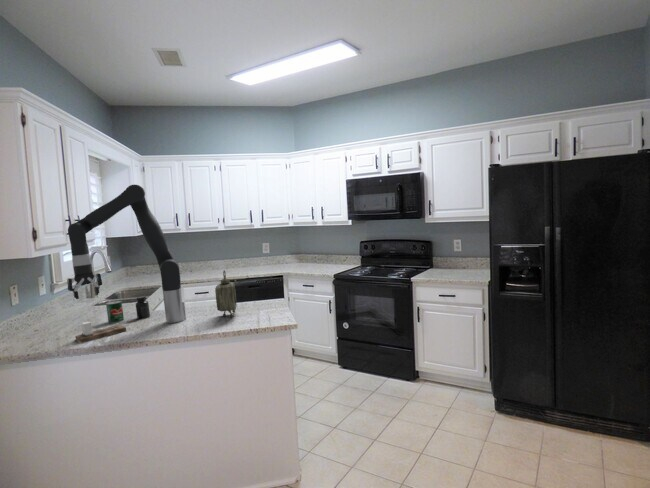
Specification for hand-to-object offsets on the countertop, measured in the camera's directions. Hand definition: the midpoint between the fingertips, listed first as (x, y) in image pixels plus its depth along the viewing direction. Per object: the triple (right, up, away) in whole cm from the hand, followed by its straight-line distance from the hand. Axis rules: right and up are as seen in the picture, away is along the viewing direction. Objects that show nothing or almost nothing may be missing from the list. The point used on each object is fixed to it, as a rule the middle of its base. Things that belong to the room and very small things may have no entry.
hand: (87, 296), depth 188 cm
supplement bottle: (+12, -17, +33) cm, 39 cm away
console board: (+5, -20, +3) cm, 20 cm away
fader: (+1, -18, -1) cm, 18 cm away
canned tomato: (-2, -18, +30) cm, 35 cm away
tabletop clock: (+63, -14, +22) cm, 68 cm away
